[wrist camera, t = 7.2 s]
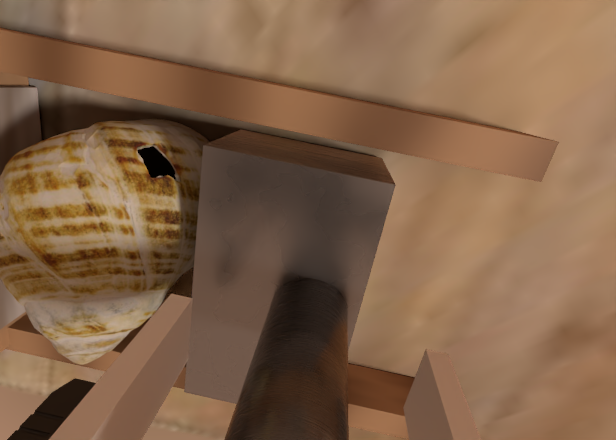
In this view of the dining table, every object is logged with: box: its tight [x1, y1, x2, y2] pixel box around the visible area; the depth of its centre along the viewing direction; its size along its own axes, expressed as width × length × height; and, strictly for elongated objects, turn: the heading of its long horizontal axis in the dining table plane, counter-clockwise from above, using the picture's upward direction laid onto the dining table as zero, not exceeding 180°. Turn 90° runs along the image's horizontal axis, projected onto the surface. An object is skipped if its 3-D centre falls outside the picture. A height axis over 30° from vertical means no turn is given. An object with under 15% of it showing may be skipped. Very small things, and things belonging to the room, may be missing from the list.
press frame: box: [0, 28, 559, 439], centre depth 17 cm, size 28×17×6 cm, turn 79°
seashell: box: [0, 119, 210, 365], centre depth 17 cm, size 10×10×10 cm
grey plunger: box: [184, 129, 395, 440], centre depth 13 cm, size 7×12×15 cm, turn 169°
